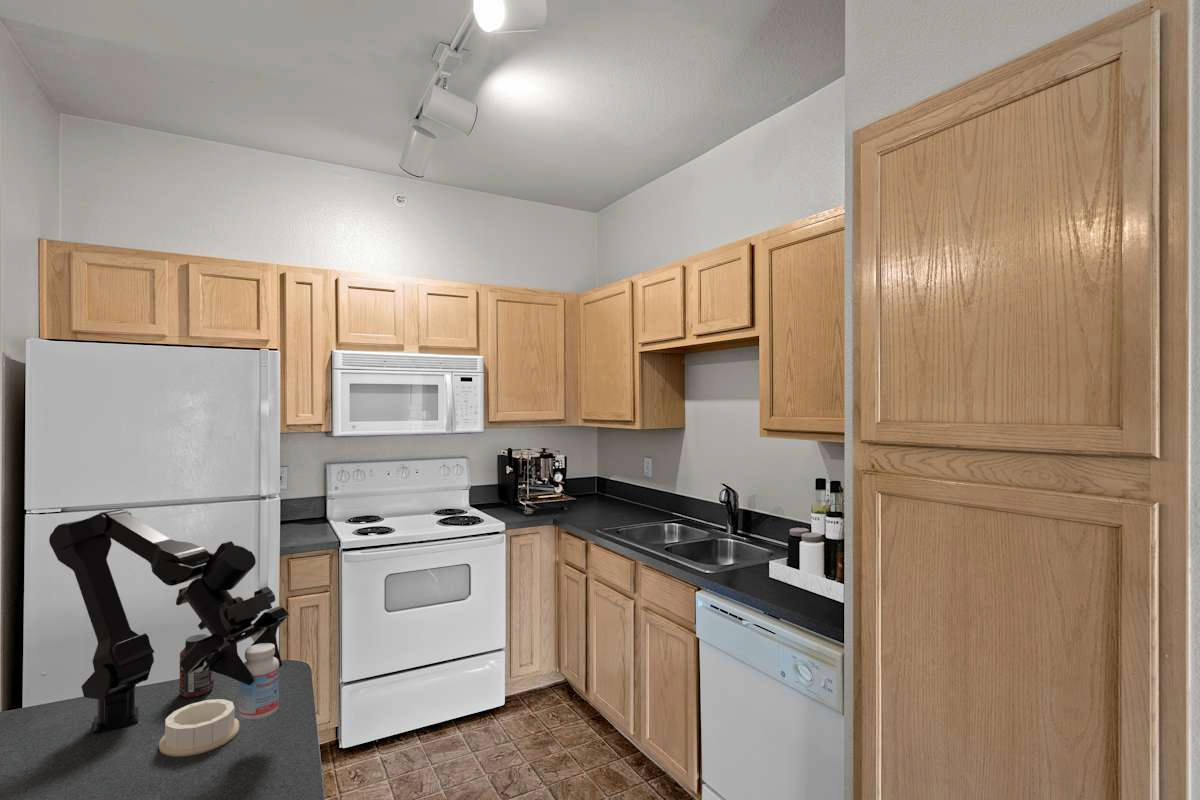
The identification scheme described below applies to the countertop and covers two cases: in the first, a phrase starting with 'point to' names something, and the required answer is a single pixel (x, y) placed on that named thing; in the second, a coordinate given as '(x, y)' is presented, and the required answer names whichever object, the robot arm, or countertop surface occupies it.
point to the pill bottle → (260, 682)
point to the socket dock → (199, 728)
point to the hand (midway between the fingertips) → (266, 675)
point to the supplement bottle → (195, 674)
